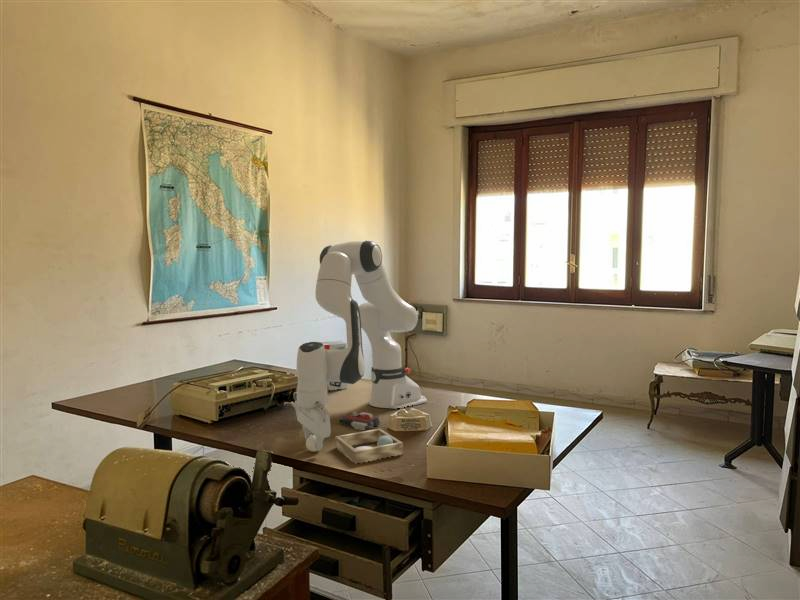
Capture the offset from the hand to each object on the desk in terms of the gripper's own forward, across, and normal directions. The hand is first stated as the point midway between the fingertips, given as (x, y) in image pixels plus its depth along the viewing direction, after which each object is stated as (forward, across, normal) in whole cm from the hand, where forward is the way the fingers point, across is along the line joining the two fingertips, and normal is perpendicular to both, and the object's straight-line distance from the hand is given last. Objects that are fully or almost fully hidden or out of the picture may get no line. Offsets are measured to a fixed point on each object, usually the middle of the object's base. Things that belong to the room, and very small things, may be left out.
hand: (313, 444), depth 167 cm
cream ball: (+2, 0, 0) cm, 2 cm away
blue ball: (+2, -11, -18) cm, 21 cm away
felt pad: (+2, -7, -13) cm, 15 cm away
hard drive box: (+2, +68, -30) cm, 74 cm away
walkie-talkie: (+3, +14, -23) cm, 27 cm away
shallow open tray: (+2, -8, -14) cm, 16 cm away
